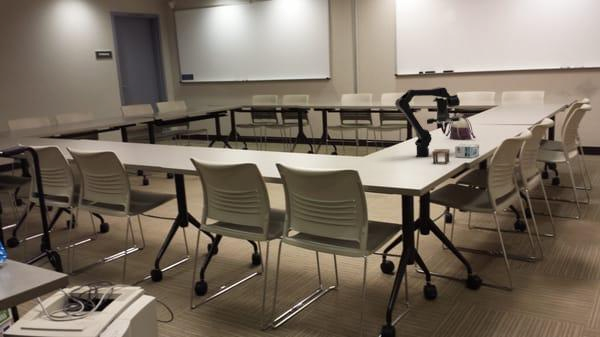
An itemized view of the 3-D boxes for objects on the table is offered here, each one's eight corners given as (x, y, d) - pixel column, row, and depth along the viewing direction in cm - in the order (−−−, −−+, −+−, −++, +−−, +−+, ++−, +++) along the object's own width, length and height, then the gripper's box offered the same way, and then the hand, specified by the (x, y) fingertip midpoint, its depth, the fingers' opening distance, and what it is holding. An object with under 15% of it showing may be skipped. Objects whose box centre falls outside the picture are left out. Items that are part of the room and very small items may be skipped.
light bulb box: (454, 157, 306) (473, 158, 299) (454, 145, 305) (473, 146, 298) (461, 154, 314) (479, 155, 308) (461, 143, 313) (479, 143, 306)
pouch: (441, 139, 378) (441, 113, 374) (447, 137, 383) (447, 111, 380) (474, 141, 360) (473, 113, 356) (479, 139, 366) (479, 112, 362)
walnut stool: (432, 163, 292) (432, 151, 291) (435, 161, 299) (435, 149, 298) (447, 164, 288) (447, 151, 287) (449, 161, 296) (449, 149, 294)
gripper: (424, 111, 311) (427, 137, 313) (457, 107, 304) (459, 134, 307) (426, 109, 321) (429, 134, 323) (458, 106, 314) (460, 131, 317)
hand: (444, 134), depth 317 cm, fingers closed
